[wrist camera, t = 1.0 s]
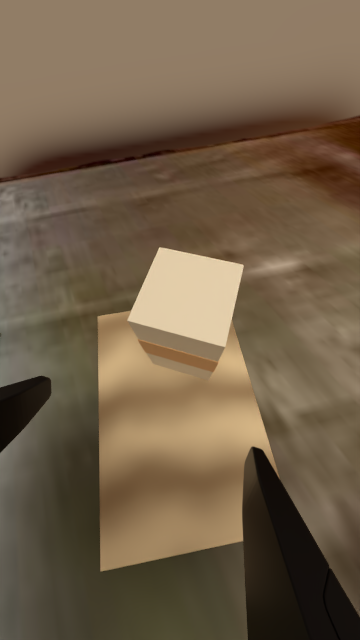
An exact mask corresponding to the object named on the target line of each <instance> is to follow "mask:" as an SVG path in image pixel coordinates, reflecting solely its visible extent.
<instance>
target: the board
mask: <svg viewBox="0 0 360 640" xmlns="http://www.w3.org/2000/svg"><path fill="white" fill-rule="evenodd" d="M130 313H131V311H127V312H121V313H115V314H109V315H103V316H98V375H99V473H100V572H101V571H106V570H110V569H115V568H120V567H124V566H129V565H134V564H138V563H143V562H147V561H152V560H157V559H161V558H166V557H171V556H175V555H180V554H185V553H189V552H194V551H199V550H203V549H208V548H213V547H217V546H222V545H226V544H231V543H236V542H240V541H243V526H242V499H243V479H244V464H245V460H246V457H247V455H248V453H249V450H250V448H251V447H252V446H254V447H257V448H260V449H262V450H263V451H264V453H265V454H266V456H267V458H268V460H269V461H270V463H271V465H272V467H273V468H274V470H275V472H276V473H277V475H278V477H279V474H278V471H277V468H276V464H275V461H274V458H273V455H272V451H271V448H270V445H269V441H268V438H267V435H266V431H265V428H264V425H263V422H262V418H261V415H260V412H259V408H258V405H257V402H256V398H255V395H254V392H253V388H252V385H251V382H250V379H249V375H248V372H247V369H246V365H245V362H244V359H243V355H242V352H241V349H240V346H239V342H238V339H237V336H236V332H235V329H234V326H233V322H232V320H231V324H230V328H229V333H228V337H227V342H226V346H225V349H224V351H223V353H222V355H221V357H220V359H219V363H218V365H217V367H216V369H215V371H214V372H213V373H212V375H211V377H210V379H209V380H205V379H202V378H199V377H195V376H192V375H189V374H185V373H182V372H178V371H175V370H172V369H168V368H165V367H162V366H158V365H155V364H153V363H152V361H151V359H150V358H149V356H148V354H147V353H146V352H145V351H144V350H143V348H142V346H141V345H140V343H139V342H138V340H137V339H138V338H137V336H136V335H135V333H134V331H133V330H132V328H131V326H130V325H129V323H128V321H127V320H128V317H129V315H130ZM279 479H280V478H279Z"/></svg>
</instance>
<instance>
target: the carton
mask: <svg viewBox="0 0 360 640" xmlns="http://www.w3.org/2000/svg"><path fill="white" fill-rule="evenodd" d="M243 266H244V265H241V264H237V263H232V262H227V261H222V260H218V259H213V258H208V257H204V256H199V255H194V254H189V253H185V252H180V251H175V250H170V249H166V248H161V247H159V250H158V252H157V254H156V256H155V259H154V261H153V263H152V266H151V268H150V270H149V272H148V275H147V277H146V279H145V281H144V284H143V286H142V288H141V290H140V293H139V295H138V297H137V299H136V302H135V304H134V306H133V308H132V311H131V313H130V315H129V317H128V320H127V321H128V323H129V325H130V326H131V328H132V330H133V331H134V333H135V335H136V336H137V338H138V339H137V340H138V342H139V343H140V345H141V346H142V348H143V350H144V351H145V352H146V353H147V354H148V356H149V358H150V359H151V361H152V363H153V364H155V365H158V366H162V367H165V368H168V369H172V370H175V371H178V372H182V373H185V374H189V375H192V376H195V377H199V378H202V379H205V380H209V379H210V377H211V375H212V373H213V372H214V371H215V369H216V367H217V365H218V363H219V359H220V357H221V355H222V353H223V351H224V349H225V346H226V342H227V337H228V333H229V328H230V324H231V320H232V315H233V311H234V306H235V302H236V297H237V293H238V289H239V284H240V280H241V275H242V271H243Z"/></svg>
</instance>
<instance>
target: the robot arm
mask: <svg viewBox="0 0 360 640" xmlns="http://www.w3.org/2000/svg"><path fill="white" fill-rule="evenodd" d="M50 395H51V380H50V378H48V377H45V376H38V377H35V378H31V379H28V380H24V381H21V382H18V383H14V384H11V385H7V386H4V387H1V388H0V453H1V452H2V450H3V449H4V448H5V447H6V446H7V445H8V444H9V443H10V442H11V441H12V440H13V439H14V438H15V437H16V436H17V435H18V434H19V433H20V432H21V431H22V430H23V429H24V428H25V427H26V425H27V424H28V423H29V422H30V421H31V419H32V418H33V417H34V416H35V415H36V413H37V412H38V411H39V410H40V409H41V407H42V406H43V405H44V404H45V402H46V401H47V400H48V399H49V397H50ZM242 526H243V546H244V567H245V588H246V609H247V629H248V640H360V617H359V615H358V613H357V612H356V610H355V608H354V607H353V605H352V603H351V602H350V600H349V598H348V597H347V595H346V593H345V592H344V590H343V588H342V587H341V585H340V583H339V581H338V580H337V578H336V576H335V574H334V573H333V571H332V569H331V568H329V564H328V562H327V561H326V559H325V557H324V555H323V554H322V552H321V550H320V548H319V547H318V545H317V543H316V541H315V540H314V538H313V536H312V534H311V533H310V531H309V529H308V527H307V526H306V524H305V522H304V521H303V519H302V517H301V515H300V514H299V512H298V510H297V508H296V507H295V505H294V503H293V501H292V500H291V498H290V496H289V494H288V493H287V491H286V489H285V487H284V486H283V484H282V482H281V480H280V479H279V477H278V475H277V473H276V472H275V470H274V468H273V467H272V465H271V463H270V461H269V460H268V458H267V456H266V454H265V453H264V451H263V450H262V449H260V448H257V447H254V446H252V447H251V448H250V450H249V453H248V455H247V457H246V460H245V464H244V479H243V499H242Z"/></svg>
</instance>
